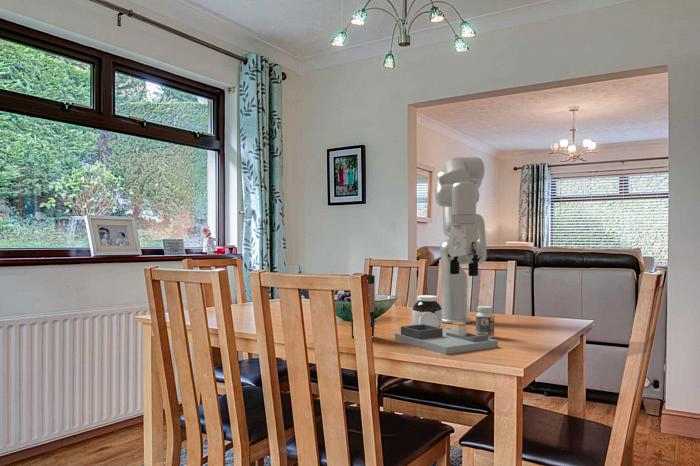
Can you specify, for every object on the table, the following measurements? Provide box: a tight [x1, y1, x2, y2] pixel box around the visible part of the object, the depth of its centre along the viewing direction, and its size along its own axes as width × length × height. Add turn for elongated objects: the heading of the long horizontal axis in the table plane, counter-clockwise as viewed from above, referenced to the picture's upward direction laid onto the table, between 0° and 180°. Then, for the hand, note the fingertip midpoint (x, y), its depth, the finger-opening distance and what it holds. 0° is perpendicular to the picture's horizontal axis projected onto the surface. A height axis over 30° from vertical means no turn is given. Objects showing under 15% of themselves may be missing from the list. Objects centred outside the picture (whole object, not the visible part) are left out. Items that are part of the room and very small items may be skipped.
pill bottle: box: [475, 305, 495, 339], centre depth 171 cm, size 6×6×10 cm
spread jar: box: [411, 294, 443, 328], centre depth 183 cm, size 12×11×12 cm
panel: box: [394, 324, 498, 355], centre depth 161 cm, size 24×20×4 cm
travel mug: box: [350, 274, 376, 339], centre depth 169 cm, size 8×8×20 cm
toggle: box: [450, 322, 468, 336], centre depth 162 cm, size 3×4×4 cm
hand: (463, 274), depth 167 cm, fingers open, 9 cm apart
